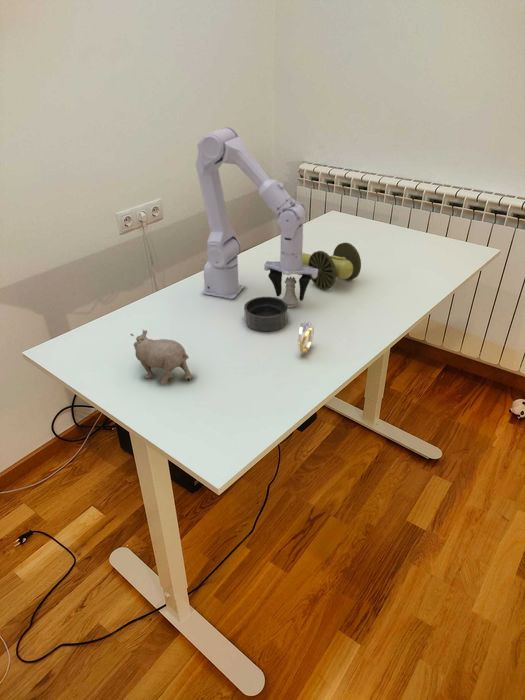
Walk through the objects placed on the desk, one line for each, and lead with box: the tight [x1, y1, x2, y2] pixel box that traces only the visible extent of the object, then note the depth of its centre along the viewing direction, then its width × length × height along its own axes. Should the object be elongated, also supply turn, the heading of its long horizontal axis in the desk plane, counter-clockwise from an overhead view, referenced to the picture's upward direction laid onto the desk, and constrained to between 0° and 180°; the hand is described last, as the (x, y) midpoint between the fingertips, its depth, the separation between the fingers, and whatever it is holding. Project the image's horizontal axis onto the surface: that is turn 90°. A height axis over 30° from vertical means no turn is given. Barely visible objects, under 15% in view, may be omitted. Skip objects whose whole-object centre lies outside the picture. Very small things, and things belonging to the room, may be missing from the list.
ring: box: [297, 321, 315, 355], centre depth 118 cm, size 7×3×8 cm, turn 148°
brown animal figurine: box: [130, 329, 193, 385], centre depth 111 cm, size 8×14×15 cm
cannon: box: [302, 242, 362, 291], centre depth 151 cm, size 25×12×11 cm, turn 37°
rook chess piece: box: [282, 276, 299, 309], centre depth 138 cm, size 4×4×8 cm
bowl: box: [243, 296, 289, 332], centre depth 131 cm, size 11×11×4 cm
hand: (290, 296), depth 139 cm, fingers open, 6 cm apart
